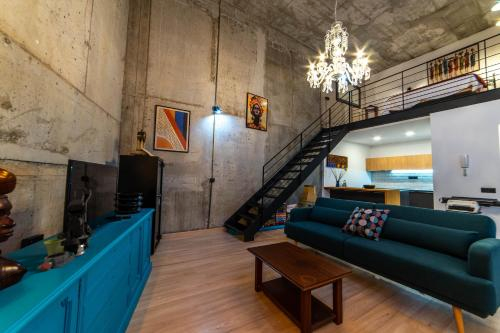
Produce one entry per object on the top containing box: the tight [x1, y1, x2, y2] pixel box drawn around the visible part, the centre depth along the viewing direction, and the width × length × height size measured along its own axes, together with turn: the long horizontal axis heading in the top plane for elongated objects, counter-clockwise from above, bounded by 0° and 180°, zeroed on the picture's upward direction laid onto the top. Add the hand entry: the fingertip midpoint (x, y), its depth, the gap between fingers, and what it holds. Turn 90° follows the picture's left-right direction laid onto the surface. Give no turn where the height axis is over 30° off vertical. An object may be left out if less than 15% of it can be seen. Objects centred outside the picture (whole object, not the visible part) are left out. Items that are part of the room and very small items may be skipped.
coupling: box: [72, 244, 86, 257], centre depth 114 cm, size 5×5×5 cm
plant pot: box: [43, 238, 65, 256], centre depth 115 cm, size 9×9×9 cm
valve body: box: [37, 251, 76, 272], centre depth 103 cm, size 14×10×5 cm
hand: (78, 252), depth 114 cm, fingers closed on coupling, 5 cm apart
